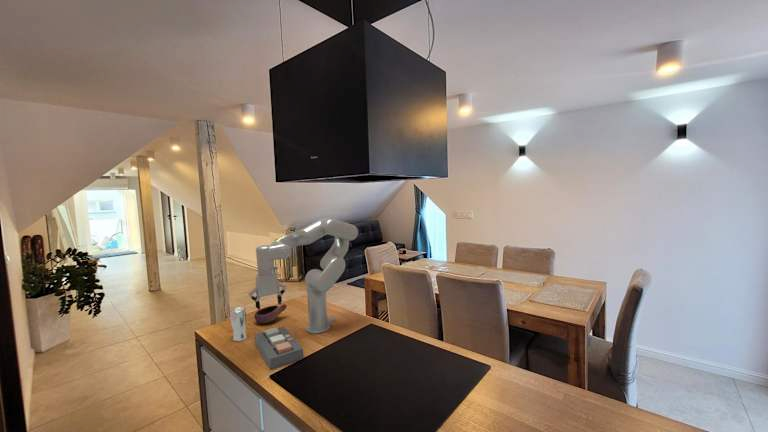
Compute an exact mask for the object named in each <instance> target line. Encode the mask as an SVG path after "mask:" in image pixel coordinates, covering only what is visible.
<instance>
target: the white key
mask: <svg viewBox="0 0 768 432" xmlns="http://www.w3.org/2000/svg"><path fill="white" fill-rule="evenodd" d="M269 340H270V345H271V346H275V345H277V344H280V343H284V342H285V338H284V336H283V335H282V334H280V335H276V336H273V337H269Z"/></svg>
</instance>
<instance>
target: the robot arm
mask: <svg viewBox="0 0 768 432" xmlns="http://www.w3.org/2000/svg"><path fill="white" fill-rule="evenodd" d="M326 235H330V236H333V237H334V243H333V244H332V246H331V247H330V249H328V251H327V252H326V253H325V254H324V255H323V257H322V258H321V260H320V261H319V262H320V263H319V265H320V267H321V269H322V270H320V269H318V268H314V269H310V270H308V272H307V273H306V275H305V279H304V281H305V287H306V288H305V289H306V293H307V294H306V295H307V312H308V324H307V326H306V327H305V331H307V333H309V334H322V333H326V332H327V331H329V330H330V329H331V326H332V325H331V323H334V322H336V321H337V319H336V317H333V318H332V316H329V317H328V311H327V310H328V309H327V294H326V293H327V291H329V290H330V289H331V288H332V287H333V286H334V285H335V284H336V282H337V281H339V278H340V277H341V276H342V275H343V273H344V272H345V269H346V261H345V259H344V257H345V256H346V254H347V252H348V251H349V246H350V241H354V240H355V239H356V238H357V237H358V235H359V229H358V227H357V226H356V225H354V224H350V223H349V222H344V221H341V220H338V219H336V218H332V217H323V218H320V219H318V220H316V221H314V222H311V224H309V225H308V226H305V227H303V228H301V229H298V230H296V231H293V232H291V233H289V234H286V235H284V236H282V237H279V238H278V239H276V240H275V241H273V242H272V243H271V244H264V245H258V246H257V247H256V248H255V256H256V266H257V274H256V276H255V288H254V289H252V290H251V291H249V292H248V296H249V297H250V299H251V300H253V301H254V302H255V308H256V309H257V311H258V310H260V309H261V305H260V304H261V302H260V299H261V298H262V297H268V296H272V295H276V294H277V296H276V298H277V304H278V306H280V305H281V306H282V302H283V299H282V297H283V295H284V294H285V292H286V290H287V285H286V284H284V283H283V284H282V283H279V277H278V275H277V272H276V271H277V270H278V269H279V268H278V266H275V260H286V259H287V258H289V257H290V256H291V255H292V249H293V248H295V247H298V246H299V247H300V246H306V245H310V244H312V243H314V242H315V241H317V240H319V239H320V238H323V237H324V236H326ZM281 288H282V289H281ZM280 289H281V290H280ZM254 294H256V296H254Z"/></svg>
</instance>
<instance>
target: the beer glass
mask: <svg viewBox="0 0 768 432" xmlns="http://www.w3.org/2000/svg"><path fill="white" fill-rule="evenodd" d="M230 323H231V328H232V331H233V338H232V339H233V341H234V342H241V341H243V340H246V339H247V337H248V336H247V333H246V325H247V312H246V308H245V307H242V306H239V307H234V308H232V309H230Z"/></svg>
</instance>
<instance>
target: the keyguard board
mask: <svg viewBox="0 0 768 432" xmlns="http://www.w3.org/2000/svg"><path fill="white" fill-rule="evenodd" d="M276 328H277V329H278V330H279V332H280V334H282V335H283V336H284V338H285V342H287V341H288V342H289V344H290V345H291V346H292V351H288V352H285V353H282V354H279V355H277V353H276V352H275V346H271V345H270V340H269V338H268V339H266V337H265V332H264V331H262V332H258V333H254V334H253V335H254V344H255V345H256V347H257V349H258V350H259V352H260V354H261V356H262V357H263V359H264V361H265V363H266V365H267V367H268V368H269V370H274V369H277V368H280V367H282V366H286V365H288V364H291V363H294V362H297V361H300V360H303V359H304V348H303V347H302V346H301V345H300V343H298V341H297V340H296V338H294V337H293V335H291V333H290V332H289V331H288V330H287V329H286V328H285V326H281V327H276Z"/></svg>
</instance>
